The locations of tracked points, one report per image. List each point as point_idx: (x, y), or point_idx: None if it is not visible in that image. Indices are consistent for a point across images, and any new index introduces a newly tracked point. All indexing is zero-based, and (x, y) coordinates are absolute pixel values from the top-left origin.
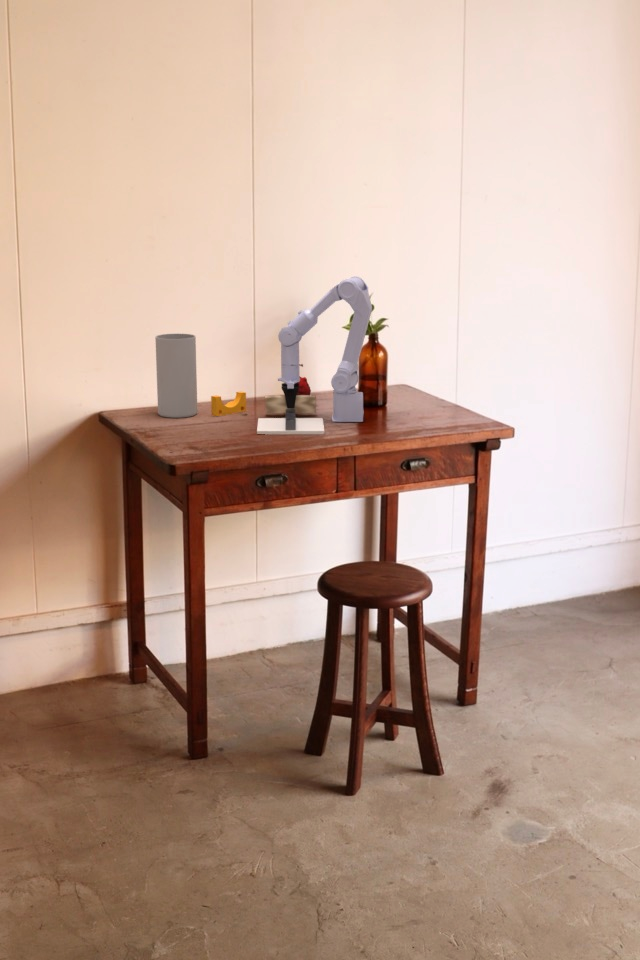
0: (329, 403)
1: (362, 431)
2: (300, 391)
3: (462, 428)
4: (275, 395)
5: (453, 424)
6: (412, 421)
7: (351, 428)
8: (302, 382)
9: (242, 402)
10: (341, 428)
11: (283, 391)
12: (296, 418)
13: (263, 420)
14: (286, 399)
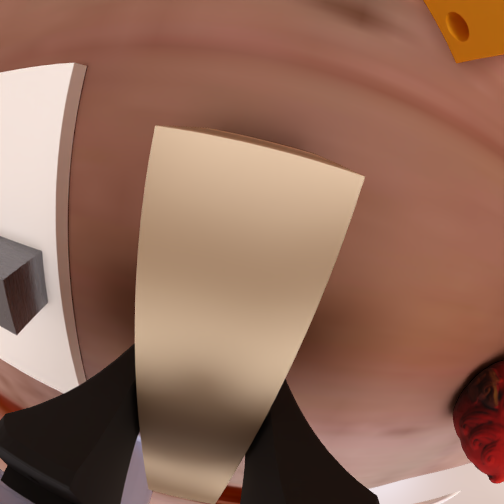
0: (406, 454)
1: (5, 401)
2: (478, 433)
3: None
4: (303, 332)
5: None
6: None
7: (21, 401)
8: (492, 467)
9: (484, 17)
10: (12, 383)
11: (22, 410)
12: (56, 310)
13: (18, 102)
14: (103, 373)
